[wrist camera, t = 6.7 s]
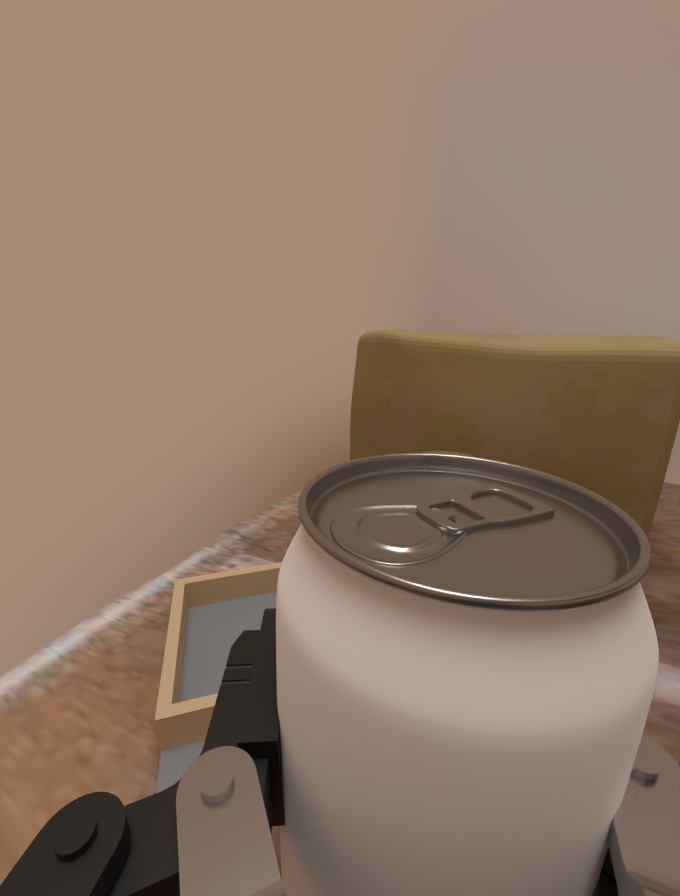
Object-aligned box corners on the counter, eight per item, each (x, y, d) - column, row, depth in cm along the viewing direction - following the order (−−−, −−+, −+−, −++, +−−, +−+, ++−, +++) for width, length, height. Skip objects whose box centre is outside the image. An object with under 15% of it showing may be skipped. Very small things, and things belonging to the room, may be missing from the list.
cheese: (329, 516, 35) (326, 332, 30) (369, 476, 43) (372, 327, 39) (644, 583, 26) (709, 338, 21) (618, 516, 35) (661, 330, 30)
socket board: (449, 560, 28) (461, 427, 25) (576, 696, 18) (621, 503, 15) (184, 609, 24) (160, 454, 21) (162, 824, 14) (111, 586, 11)
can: (252, 855, 12) (230, 468, 9) (427, 756, 15) (464, 436, 11) (366, 1303, 7) (432, 731, 3) (608, 1010, 9) (783, 544, 6)
